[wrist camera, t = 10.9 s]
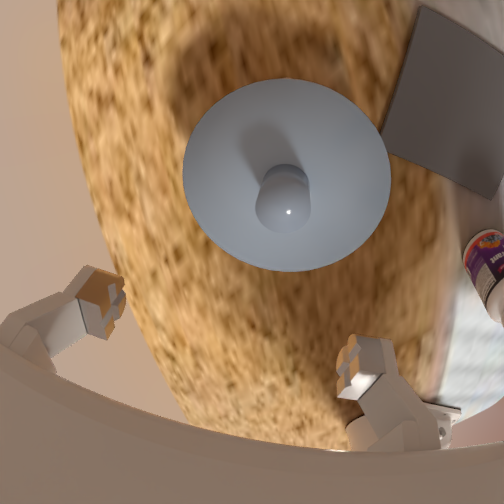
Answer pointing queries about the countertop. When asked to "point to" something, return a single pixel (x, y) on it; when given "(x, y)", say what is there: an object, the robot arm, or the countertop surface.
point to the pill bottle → (487, 270)
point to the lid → (286, 175)
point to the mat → (449, 105)
